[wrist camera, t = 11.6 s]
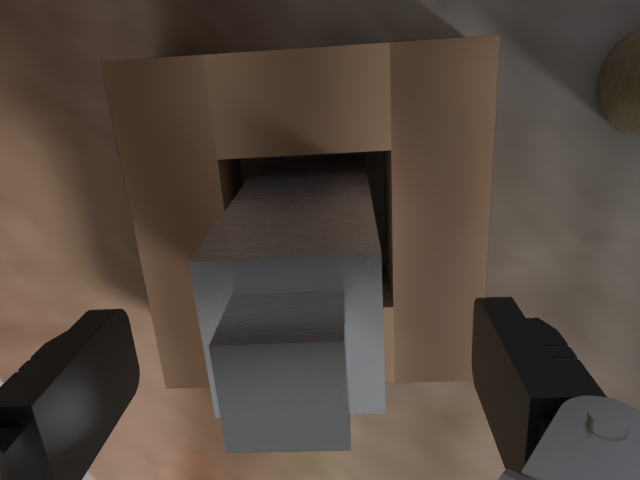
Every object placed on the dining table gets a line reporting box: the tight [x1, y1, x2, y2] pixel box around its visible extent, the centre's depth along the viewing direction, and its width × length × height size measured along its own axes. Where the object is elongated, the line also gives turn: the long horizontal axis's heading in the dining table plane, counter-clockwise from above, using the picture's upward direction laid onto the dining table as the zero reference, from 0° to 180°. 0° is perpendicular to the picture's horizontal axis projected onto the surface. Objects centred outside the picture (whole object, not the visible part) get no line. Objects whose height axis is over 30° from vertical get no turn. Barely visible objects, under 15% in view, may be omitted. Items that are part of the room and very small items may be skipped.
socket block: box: [100, 35, 500, 389], centre depth 20 cm, size 12×12×4 cm
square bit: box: [189, 155, 386, 453], centre depth 15 cm, size 4×4×12 cm
